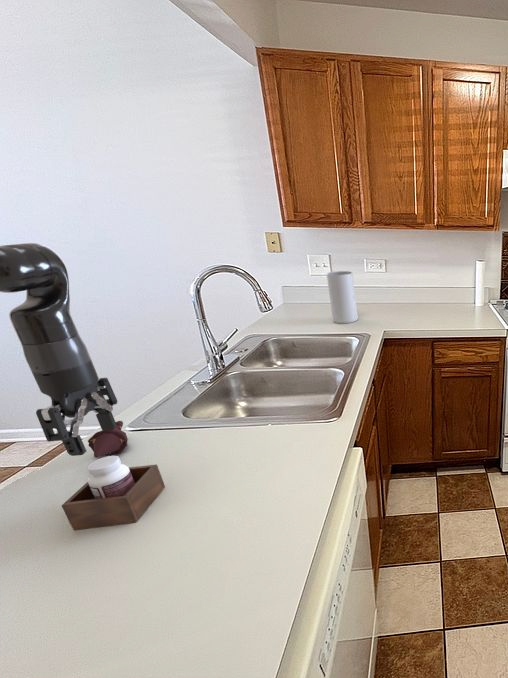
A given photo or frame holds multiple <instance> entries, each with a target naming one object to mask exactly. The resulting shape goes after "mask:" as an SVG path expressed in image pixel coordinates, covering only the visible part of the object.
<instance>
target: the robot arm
mask: <svg viewBox="0 0 508 678" xmlns="http://www.w3.org/2000/svg"><path fill="white" fill-rule="evenodd" d="M25 291H26V294H25V295H26V296H25V300H24V301H23V302H22V303H21V304H19V305H17V306H16V307H14V308H12V309H11V310H10V311H9V314H8V316H9V320H10V323H11V325H12V328H13V329H14V331H15V334H16V337H17V338H18V341H19V342H20V345H21V348H22V352H23V356H24V358H25V361H26V363H27V365H28V367H29V369H30V372H31V374H32V376H33V378H34V381H35V382H36V384H37V387H38V389H39V391H40V393H42V394H43V395H46V396H48V397H49V398H50V400H51V405H50V406H48V407H45V408H38V409H37V410H35V411H36V412H35V414H36V417H37V419H38V422H39V425H40V427H41V429H42V431H43V435H44V436H45V439H46V441H47V442H48V443H49V442H57V441H58V442H59V441H61V442H62V444H63V447H64V448H65V451H66V453H67V454H68V455H69V456H71V457H76V456H83V455H84V454H85V453H87V448H86V447H85V443H84V442H83V439H82V437H81V435H80V434H79V432H80V431H79V430H80V426H81V425H82V424H83V423H84V417H85V416H87V415H88V414H89V413H90V412H93V413H96V414H95V416H96V420H97V421H98V423H99V426H100V428H101V429H100V430H101V431H102V430H103V431H109V430H114V429H115V428H116V427H117V426H116V423H115V422H116V420H115V417H114V415H113V412H112V411H113V410H114V407H113V406H116V405H117V404H118V398H117V396H116V394H115V391H114V389H113V388H112V385H111V382H110V380H109V378H108V377H99V375H98V372H97V371H96V368H95V365H94V362H93V360H92V358H91V356H90V352H89V350H88V348H87V346H86V343H85V341H84V340H83V338H82V337H81V335H80V333H79V330H78V328H77V325H76V323H75V321H74V318H73V315H72V313H71V295H70V277H69V271H68V268H67V266H66V263H65V262H64V260H63V259H62V257H61V256H60V255H59V254H58V253H57V252H56V251H55V250H53V249H52V248H51V247H49V246H47V245H44V244H41V243H37V242H36V243H35V242H26V243H16V244H15V243H14V244H5V245H0V293H5V294H6V293H7V294H13V293H15V294H16V293H19V292H25ZM105 396H107V398H105ZM66 418H70V419H66ZM68 426H70V427H69V430H68V429H67V427H68ZM55 430H56V433H55Z"/></svg>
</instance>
